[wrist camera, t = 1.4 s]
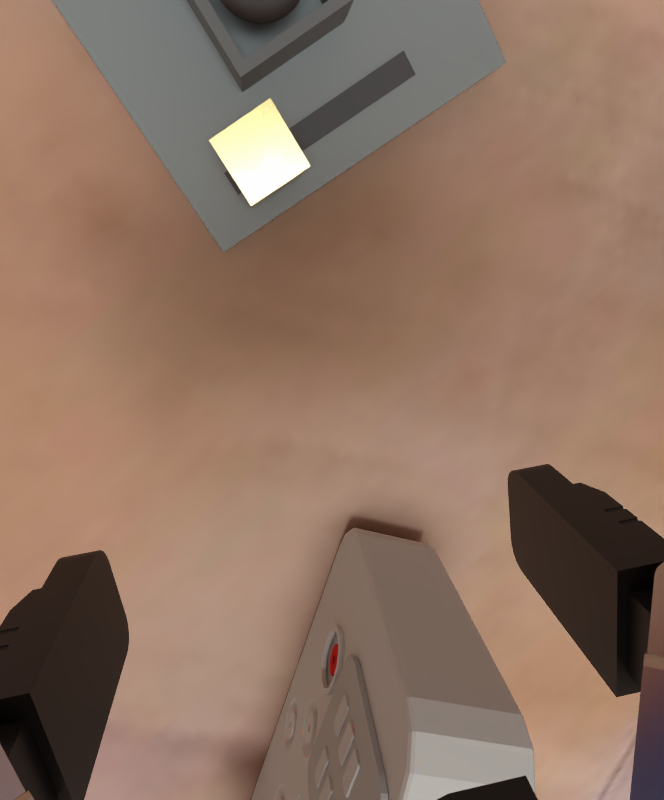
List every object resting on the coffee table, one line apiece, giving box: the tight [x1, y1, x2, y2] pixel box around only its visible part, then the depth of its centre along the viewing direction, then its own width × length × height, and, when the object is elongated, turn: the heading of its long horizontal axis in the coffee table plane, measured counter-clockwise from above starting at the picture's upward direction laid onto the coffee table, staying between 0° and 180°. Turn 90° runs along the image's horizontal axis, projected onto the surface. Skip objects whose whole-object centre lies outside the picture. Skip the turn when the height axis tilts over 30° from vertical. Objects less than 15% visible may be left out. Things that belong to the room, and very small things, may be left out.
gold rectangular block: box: [209, 98, 310, 208], centre depth 26 cm, size 3×3×5 cm
